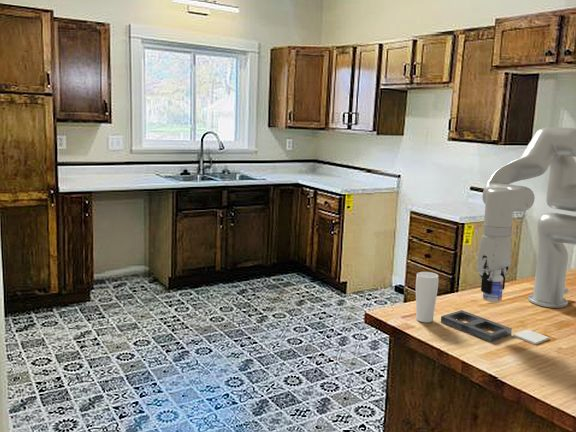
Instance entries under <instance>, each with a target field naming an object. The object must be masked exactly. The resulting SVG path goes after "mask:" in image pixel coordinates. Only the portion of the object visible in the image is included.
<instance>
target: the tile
mask: <svg viewBox="0 0 576 432" xmlns="http://www.w3.org/2000/svg"><path fill="white" fill-rule="evenodd" d="M512 337H514V338H516V337H517V338H516V339H519V340H522V341H524V342H527V343H530V344H533V345H535V346H536V345H538V344H540V343H543V342H546V341H548V340H549V339H550V337H549V336H547V335H543V334H541V333H539V332H535V331H533V330H531V329H524V330H522V331H519V332H515V333H513V335H512Z"/></svg>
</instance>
